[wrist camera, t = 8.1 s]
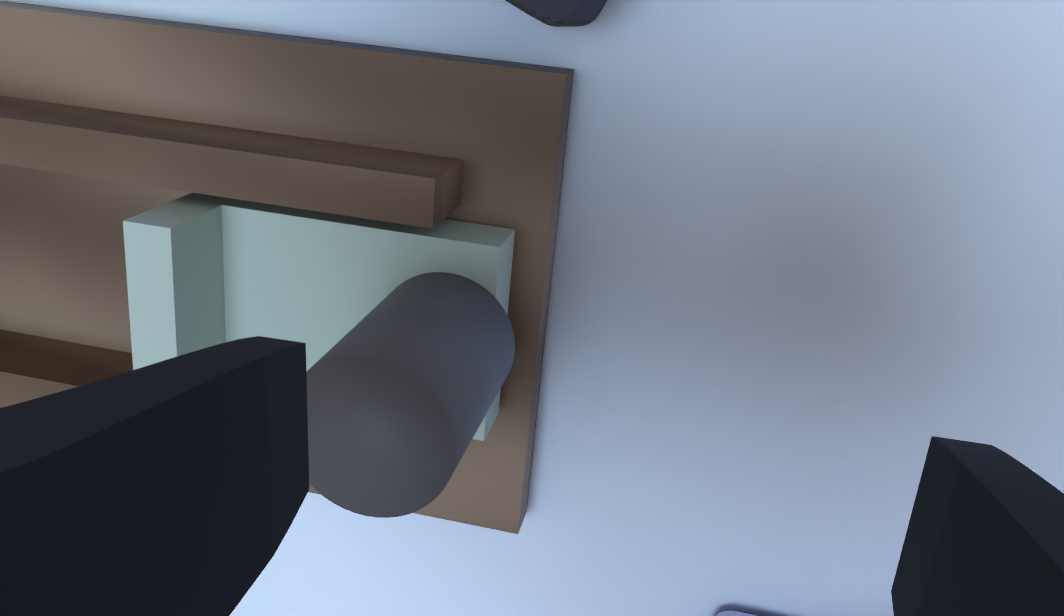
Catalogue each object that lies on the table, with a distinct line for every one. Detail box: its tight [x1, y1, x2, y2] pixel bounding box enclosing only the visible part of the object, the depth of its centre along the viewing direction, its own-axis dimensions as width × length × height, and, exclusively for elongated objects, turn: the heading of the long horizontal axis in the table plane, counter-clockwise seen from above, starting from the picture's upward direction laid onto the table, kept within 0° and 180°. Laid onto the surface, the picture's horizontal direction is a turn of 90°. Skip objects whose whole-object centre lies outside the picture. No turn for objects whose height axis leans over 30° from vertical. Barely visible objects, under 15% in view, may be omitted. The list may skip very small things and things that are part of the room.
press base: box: [0, 1, 574, 534], centre depth 22 cm, size 11×22×3 cm, turn 85°
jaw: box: [123, 193, 515, 517], centre depth 18 cm, size 4×8×6 cm, turn 85°
